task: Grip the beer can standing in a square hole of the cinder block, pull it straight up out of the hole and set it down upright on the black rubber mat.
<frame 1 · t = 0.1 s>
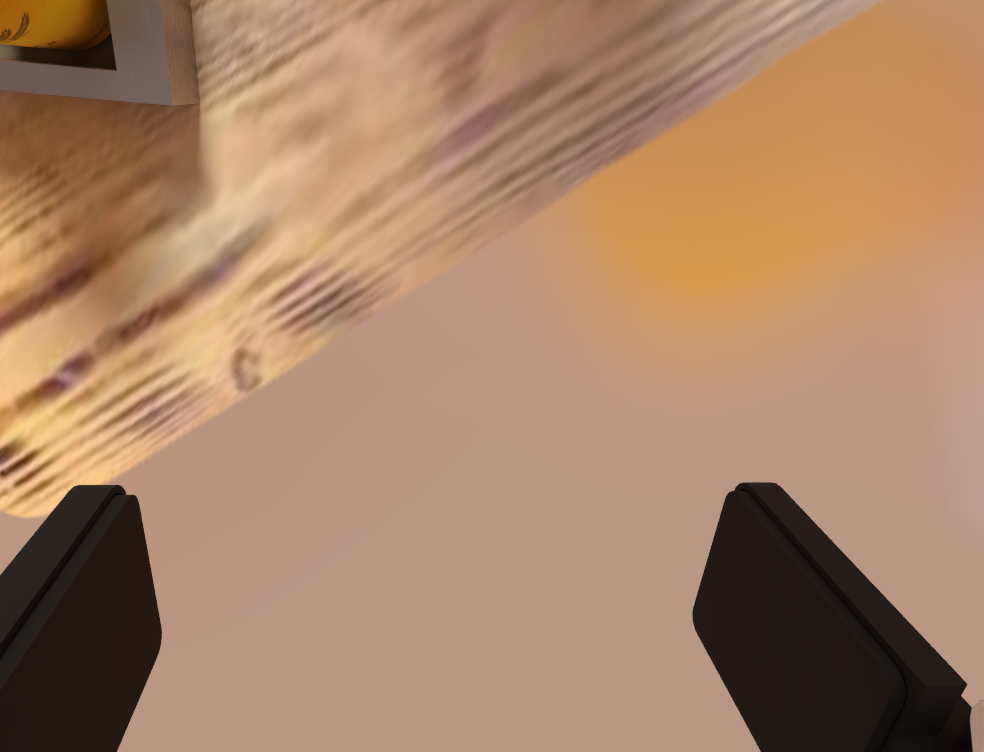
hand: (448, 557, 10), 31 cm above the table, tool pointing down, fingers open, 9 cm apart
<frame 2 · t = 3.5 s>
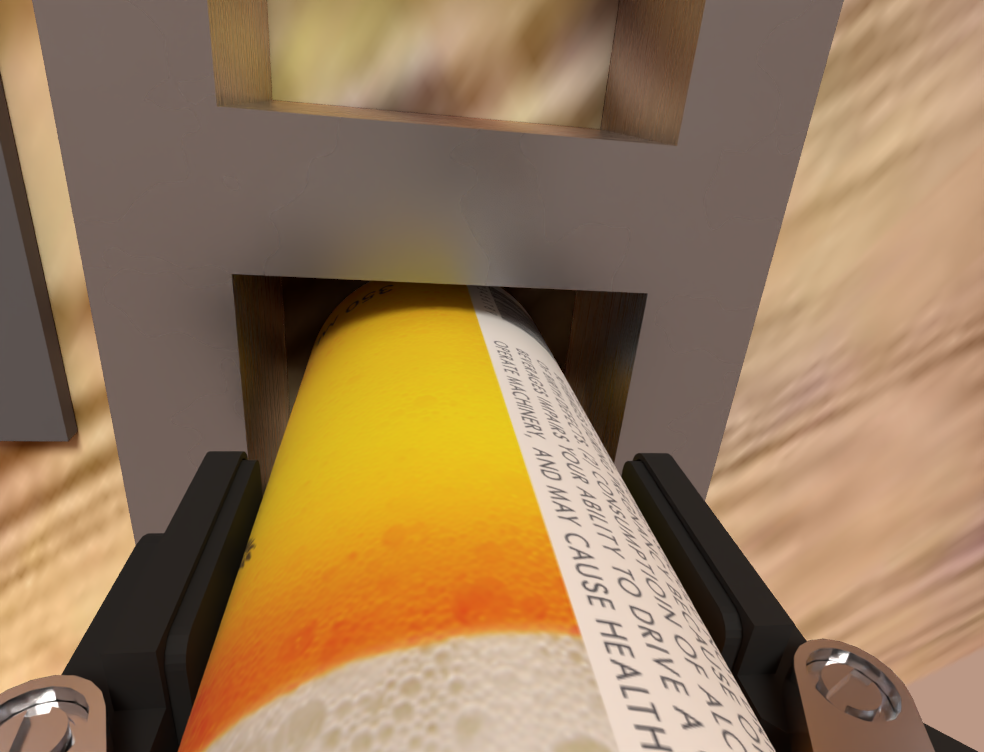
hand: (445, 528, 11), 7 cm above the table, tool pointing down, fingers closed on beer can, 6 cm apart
beer can: (429, 366, 17), resting in cinder block, touching gripper
cinder block: (440, 175, 15), on the table
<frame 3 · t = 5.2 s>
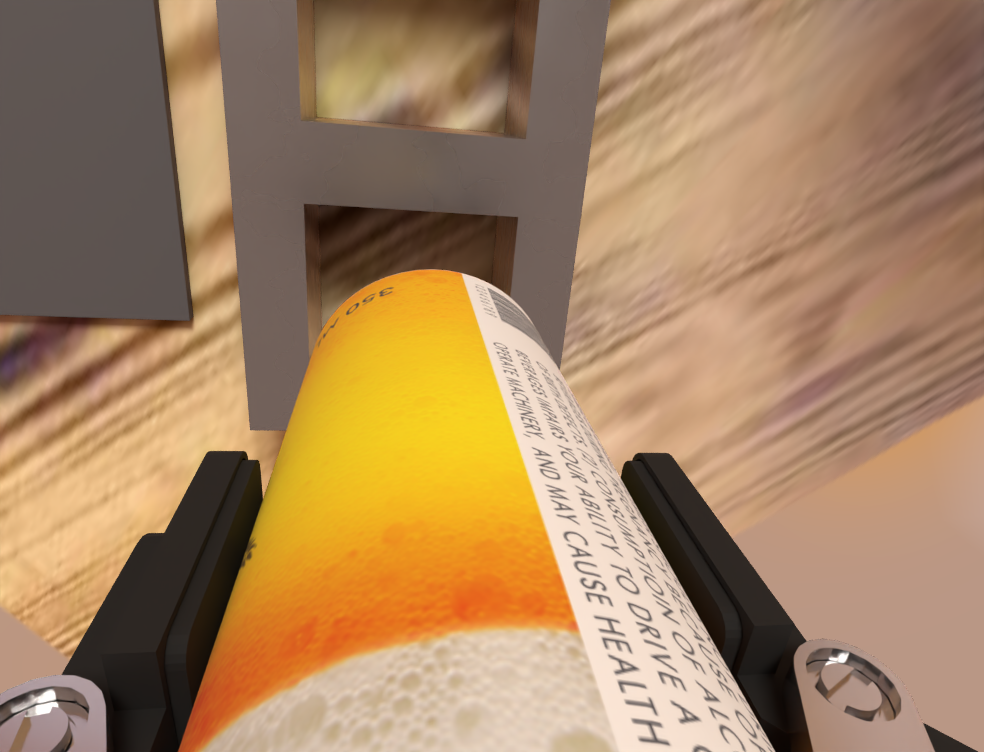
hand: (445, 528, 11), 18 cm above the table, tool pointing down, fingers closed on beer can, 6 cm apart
beer can: (429, 369, 17), point 11 cm above the table, touching gripper
cinder block: (411, 159, 25), on the table
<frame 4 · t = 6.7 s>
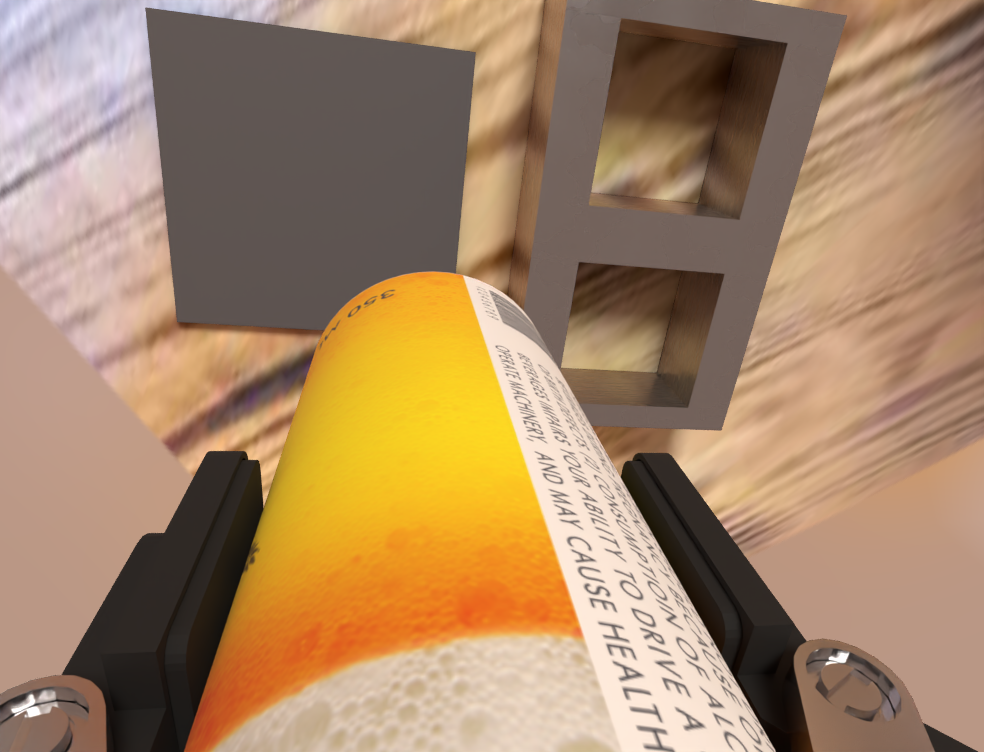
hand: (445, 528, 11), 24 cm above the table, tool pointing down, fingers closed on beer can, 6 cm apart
mat: (319, 193, 30), on the table
beer can: (430, 370, 17), point 17 cm above the table, touching gripper
cinder block: (627, 221, 33), on the table
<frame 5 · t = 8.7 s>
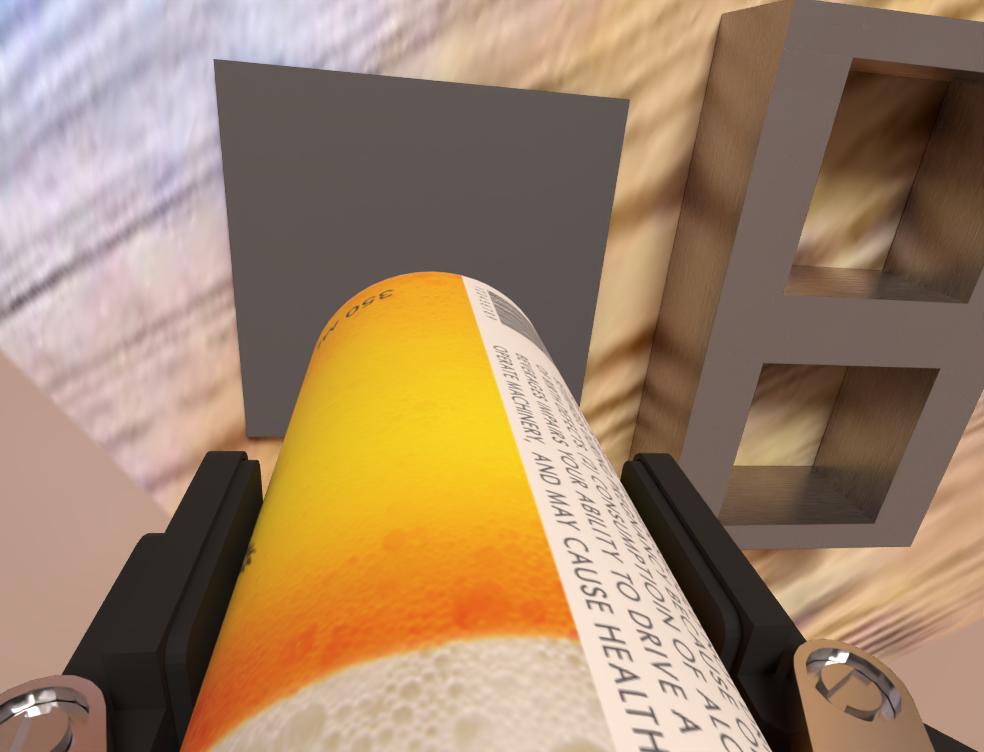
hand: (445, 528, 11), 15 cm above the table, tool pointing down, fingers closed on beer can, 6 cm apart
mat: (423, 277, 24), on the table
beer can: (429, 371, 17), point 8 cm above the table, touching gripper
cinder block: (795, 295, 27), on the table
when the fingers open (8 cm above the table, at t = 10.4 s): beer can drops 1 cm, resting on mat.
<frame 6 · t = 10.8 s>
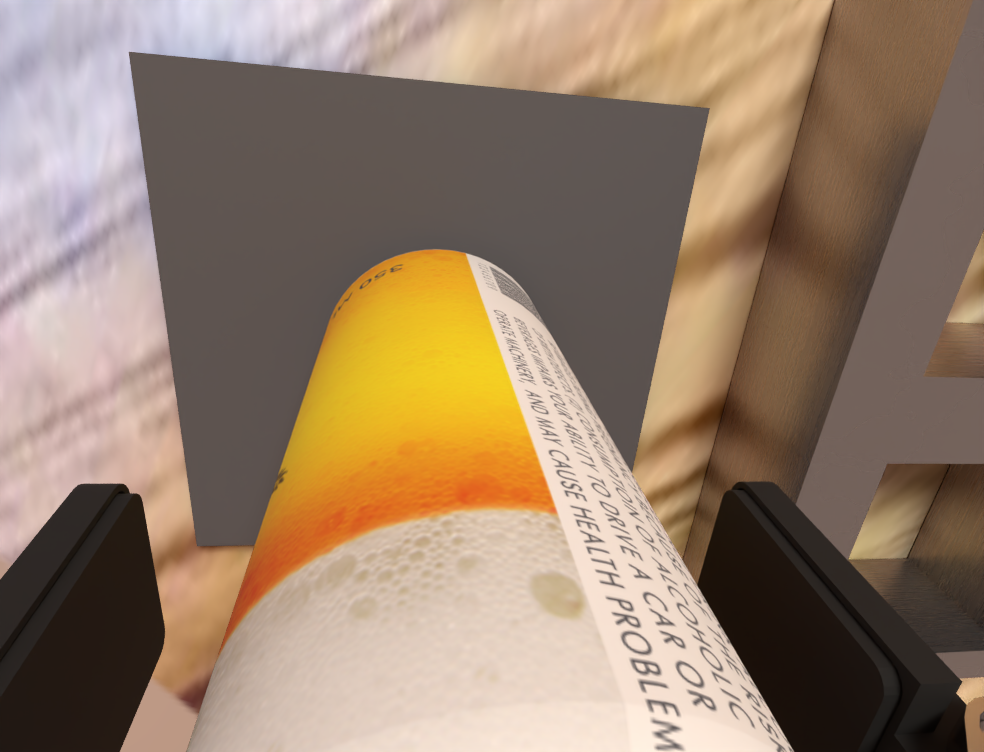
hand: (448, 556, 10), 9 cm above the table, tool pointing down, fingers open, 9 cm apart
mat: (427, 342, 18), on the table
beer can: (435, 344, 18), resting on mat
cinder block: (904, 357, 21), on the table
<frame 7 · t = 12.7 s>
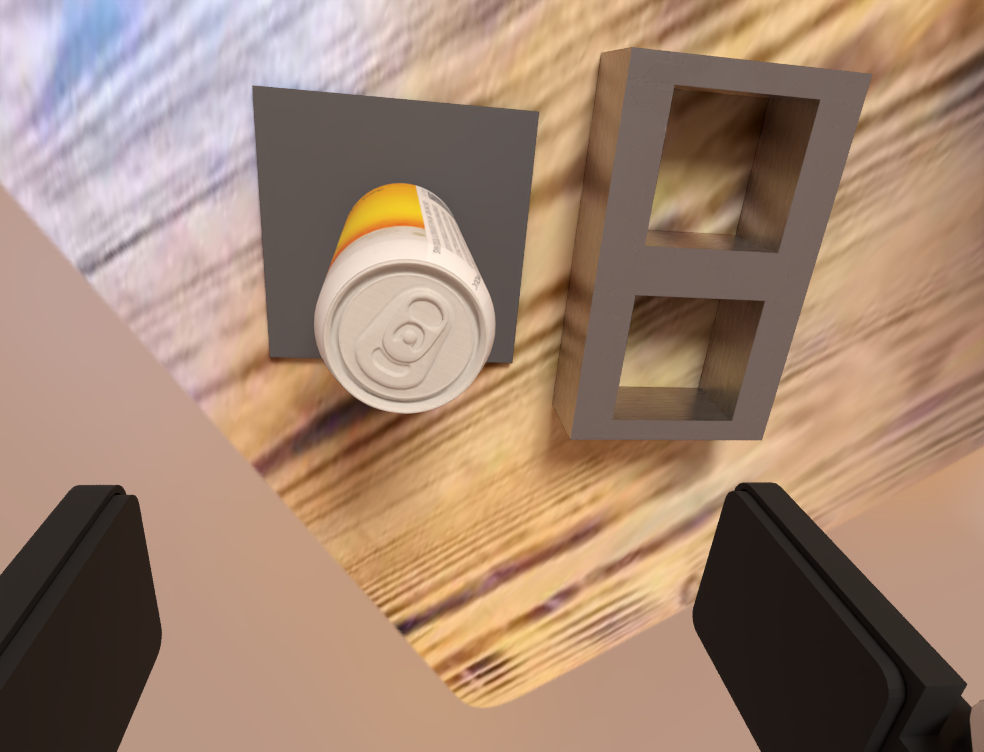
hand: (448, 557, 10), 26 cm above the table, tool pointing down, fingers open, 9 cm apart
mat: (397, 238, 34), on the table
beer can: (401, 238, 34), resting on mat
cinder block: (672, 253, 37), on the table
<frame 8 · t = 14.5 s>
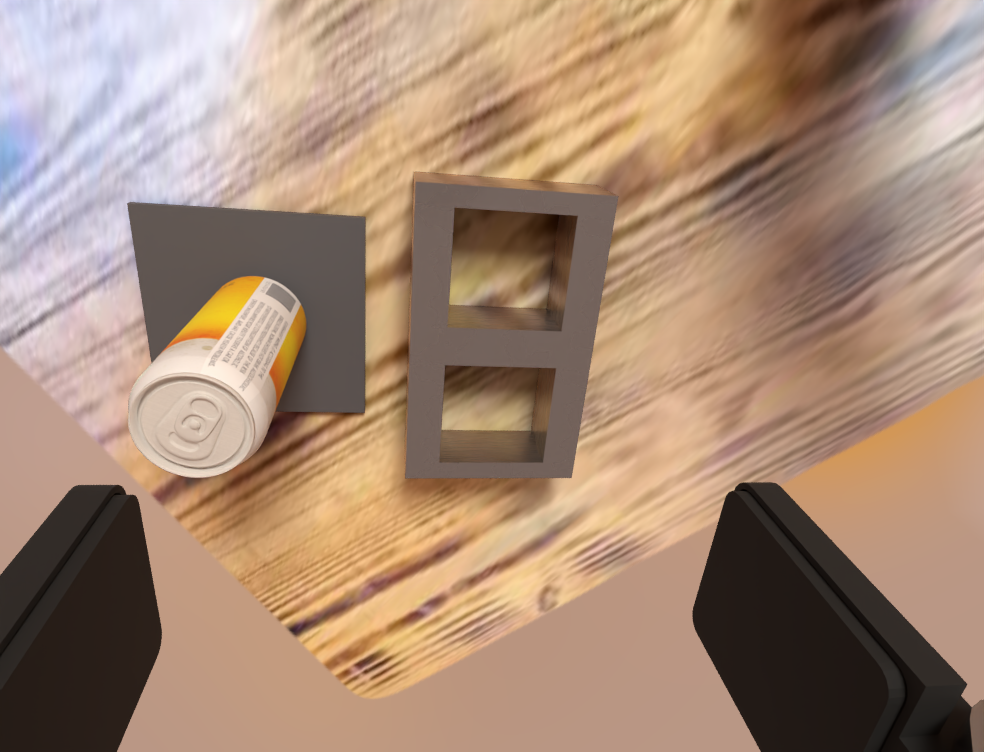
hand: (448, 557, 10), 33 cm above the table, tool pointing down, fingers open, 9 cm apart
mat: (258, 315, 42), on the table
beer can: (261, 316, 41), resting on mat
cinder block: (493, 324, 44), on the table
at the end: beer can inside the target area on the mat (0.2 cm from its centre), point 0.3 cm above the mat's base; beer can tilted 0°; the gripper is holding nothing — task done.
